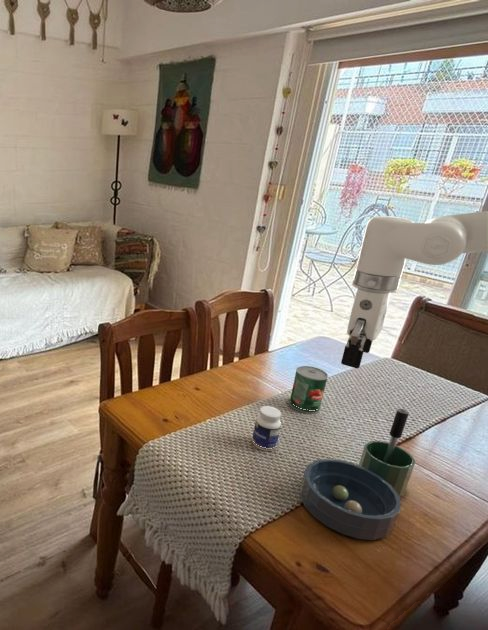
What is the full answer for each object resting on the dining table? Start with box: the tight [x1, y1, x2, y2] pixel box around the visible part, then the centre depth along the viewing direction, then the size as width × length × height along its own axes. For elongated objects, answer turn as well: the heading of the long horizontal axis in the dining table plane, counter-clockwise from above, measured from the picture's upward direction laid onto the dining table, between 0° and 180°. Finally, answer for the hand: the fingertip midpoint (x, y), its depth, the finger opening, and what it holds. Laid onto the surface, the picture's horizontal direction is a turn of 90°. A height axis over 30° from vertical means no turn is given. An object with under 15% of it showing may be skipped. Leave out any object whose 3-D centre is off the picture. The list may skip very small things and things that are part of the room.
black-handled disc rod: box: [383, 408, 410, 464], centre depth 94 cm, size 4×4×18 cm
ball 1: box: [332, 485, 349, 501], centre depth 92 cm, size 3×3×3 cm
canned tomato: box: [288, 365, 329, 415], centre depth 125 cm, size 8×8×11 cm
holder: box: [358, 440, 416, 498], centre depth 96 cm, size 9×9×8 cm
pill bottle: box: [251, 405, 282, 452], centre depth 108 cm, size 6×6×10 cm
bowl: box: [299, 458, 402, 541], centre depth 90 cm, size 17×17×6 cm
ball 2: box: [344, 500, 362, 514], centre depth 88 cm, size 3×3×3 cm
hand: (355, 358), depth 93 cm, fingers open, 9 cm apart
